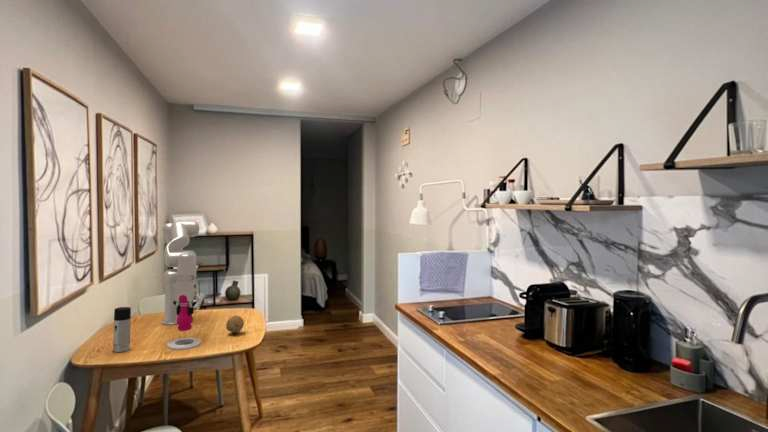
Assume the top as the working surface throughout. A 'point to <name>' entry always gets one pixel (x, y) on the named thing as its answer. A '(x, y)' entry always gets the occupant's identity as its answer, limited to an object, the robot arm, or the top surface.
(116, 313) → the spray can
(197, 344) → the mount plate
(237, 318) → the natural sponge
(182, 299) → the pepper mill
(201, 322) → the top surface
